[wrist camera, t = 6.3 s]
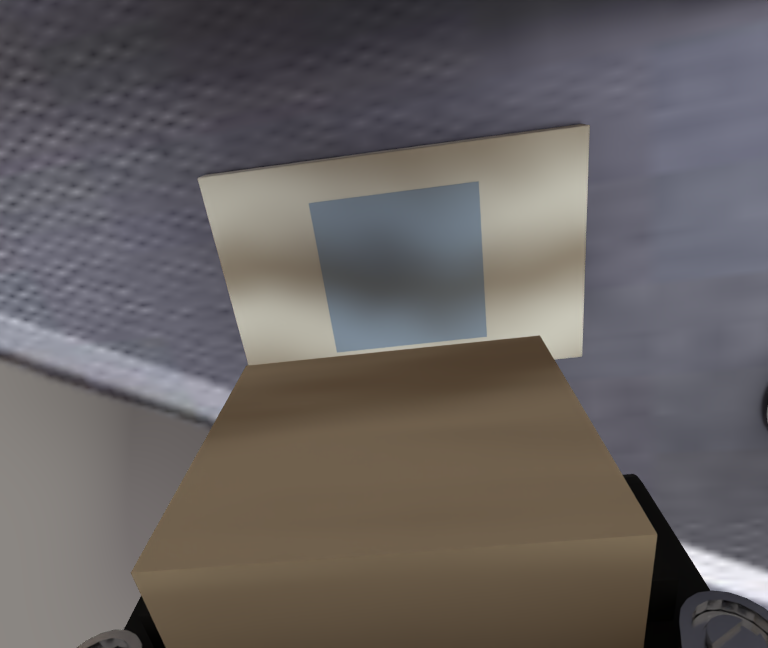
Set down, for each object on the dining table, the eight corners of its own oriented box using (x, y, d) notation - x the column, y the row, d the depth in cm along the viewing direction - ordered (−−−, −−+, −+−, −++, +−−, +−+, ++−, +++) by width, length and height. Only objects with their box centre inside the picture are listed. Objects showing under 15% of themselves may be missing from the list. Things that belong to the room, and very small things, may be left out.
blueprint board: (205, 174, 23) (197, 178, 22) (581, 123, 22) (589, 125, 21) (259, 379, 28) (255, 390, 27) (575, 347, 27) (582, 356, 26)
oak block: (246, 365, 11) (130, 573, 6) (539, 335, 10) (657, 534, 6) (302, 570, 13) (250, 828, 8) (540, 553, 13) (622, 816, 8)
